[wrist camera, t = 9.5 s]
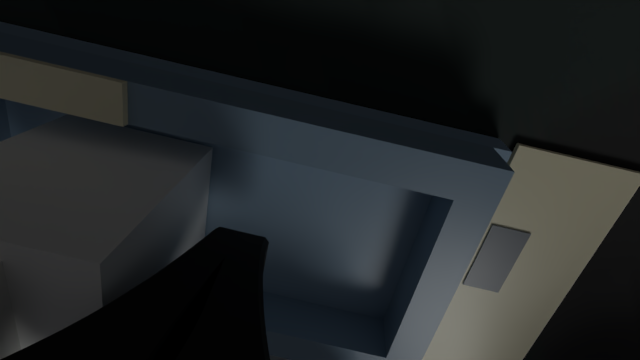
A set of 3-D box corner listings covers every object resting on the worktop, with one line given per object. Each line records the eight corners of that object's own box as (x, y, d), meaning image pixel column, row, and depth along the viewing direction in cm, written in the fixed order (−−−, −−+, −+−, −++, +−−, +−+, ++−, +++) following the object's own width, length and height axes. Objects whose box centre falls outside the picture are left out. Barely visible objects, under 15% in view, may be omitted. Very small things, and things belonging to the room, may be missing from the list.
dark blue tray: (457, 450, 17) (474, 526, 14) (35, 354, 17) (-20, 414, 14) (641, 172, 11) (724, 224, 8) (-29, 14, 10) (-146, 20, 8)
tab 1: (202, 261, 12) (90, 450, 7) (79, 233, 12) (-120, 402, 7) (212, 147, 10) (73, 291, 5) (68, 113, 10) (-210, 226, 5)
